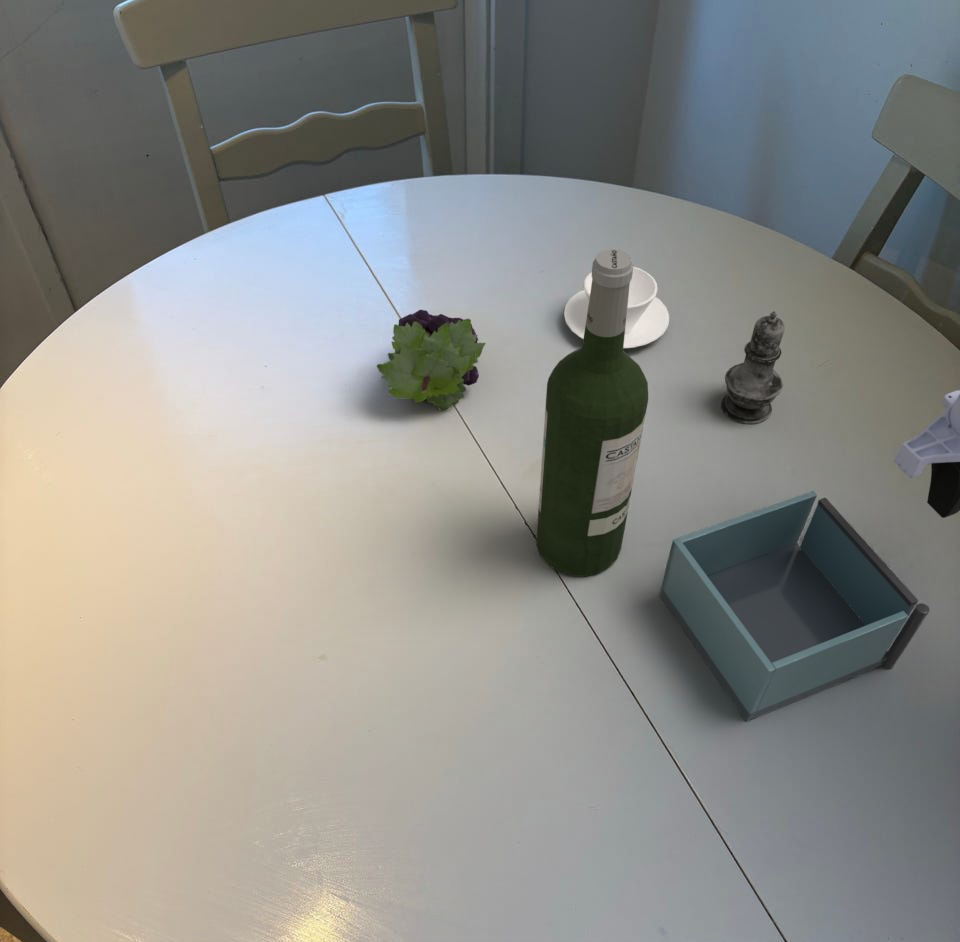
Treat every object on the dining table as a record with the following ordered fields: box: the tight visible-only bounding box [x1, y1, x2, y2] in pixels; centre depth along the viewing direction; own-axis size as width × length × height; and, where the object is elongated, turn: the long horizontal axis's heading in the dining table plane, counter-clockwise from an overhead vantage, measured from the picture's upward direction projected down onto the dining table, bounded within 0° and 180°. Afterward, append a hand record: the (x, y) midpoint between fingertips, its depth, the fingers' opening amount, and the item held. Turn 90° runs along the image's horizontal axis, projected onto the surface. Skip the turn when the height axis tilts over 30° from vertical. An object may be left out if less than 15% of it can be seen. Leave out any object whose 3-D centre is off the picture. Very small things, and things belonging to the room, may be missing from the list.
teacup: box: [563, 266, 670, 349], centre depth 104 cm, size 12×12×5 cm
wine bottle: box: [535, 248, 649, 577], centre depth 74 cm, size 8×8×30 cm
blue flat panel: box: [799, 497, 919, 643], centre depth 78 cm, size 12×2×6 cm, turn 23°
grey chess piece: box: [720, 311, 786, 425], centre depth 92 cm, size 6×6×12 cm
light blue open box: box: [659, 490, 930, 722], centre depth 76 cm, size 14×14×8 cm
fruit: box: [376, 309, 487, 412], centre depth 96 cm, size 10×11×15 cm
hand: (941, 507), depth 76 cm, fingers closed
